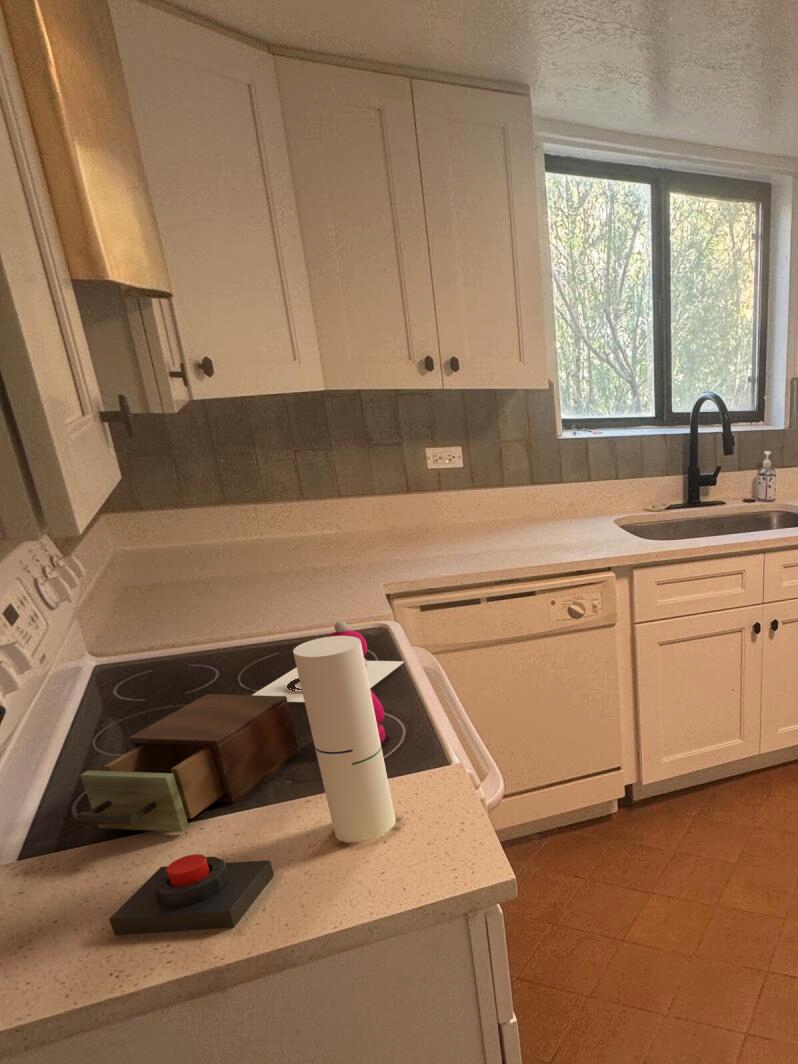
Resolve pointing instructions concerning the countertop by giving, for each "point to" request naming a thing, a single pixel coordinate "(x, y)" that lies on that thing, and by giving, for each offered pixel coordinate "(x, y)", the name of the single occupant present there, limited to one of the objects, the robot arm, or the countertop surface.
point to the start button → (188, 870)
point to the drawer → (153, 788)
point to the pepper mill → (378, 708)
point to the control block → (193, 899)
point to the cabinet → (232, 736)
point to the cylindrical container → (345, 736)
